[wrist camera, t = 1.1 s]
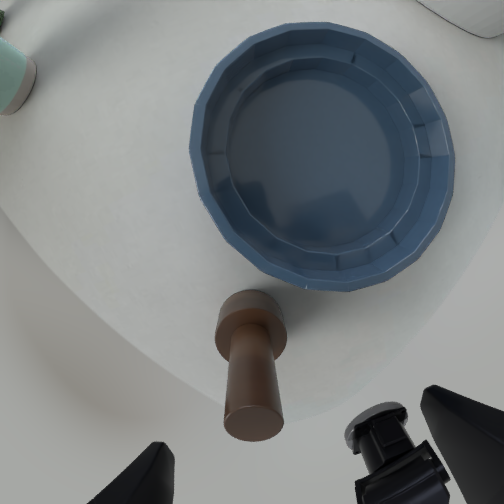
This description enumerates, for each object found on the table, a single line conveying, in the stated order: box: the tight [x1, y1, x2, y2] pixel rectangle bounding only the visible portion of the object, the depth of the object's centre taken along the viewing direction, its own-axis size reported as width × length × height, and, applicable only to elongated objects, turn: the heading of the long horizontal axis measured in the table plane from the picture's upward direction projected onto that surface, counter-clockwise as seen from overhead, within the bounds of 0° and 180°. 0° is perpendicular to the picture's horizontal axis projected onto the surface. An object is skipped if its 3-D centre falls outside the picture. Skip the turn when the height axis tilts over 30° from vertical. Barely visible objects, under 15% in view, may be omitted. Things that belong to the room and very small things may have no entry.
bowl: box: [189, 22, 455, 292], centre depth 14 cm, size 15×15×4 cm
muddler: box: [215, 290, 287, 442], centre depth 14 cm, size 4×4×10 cm
